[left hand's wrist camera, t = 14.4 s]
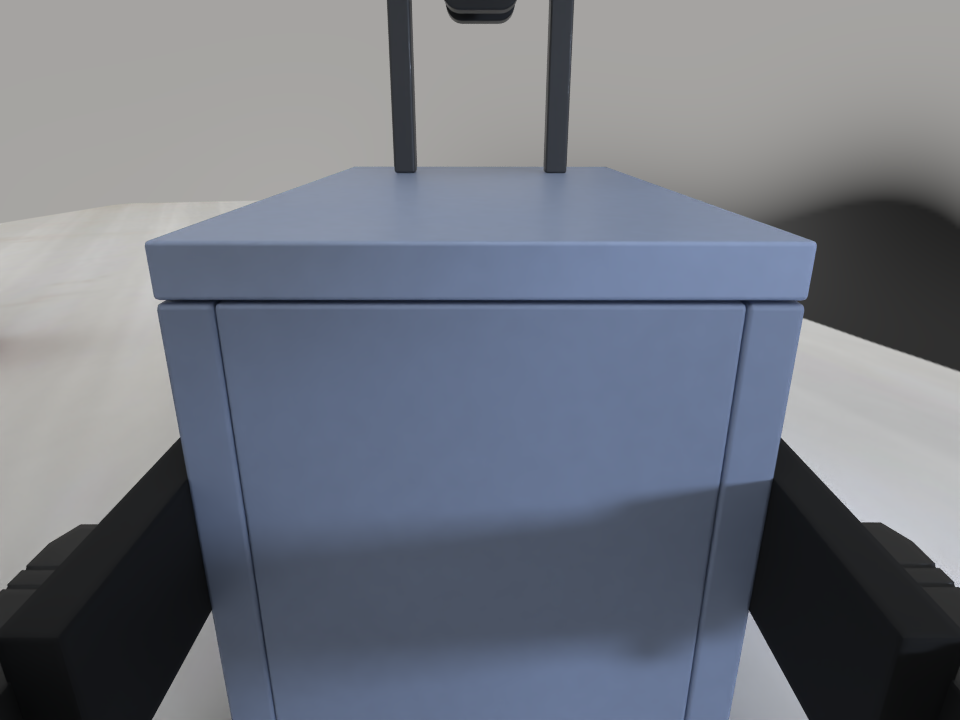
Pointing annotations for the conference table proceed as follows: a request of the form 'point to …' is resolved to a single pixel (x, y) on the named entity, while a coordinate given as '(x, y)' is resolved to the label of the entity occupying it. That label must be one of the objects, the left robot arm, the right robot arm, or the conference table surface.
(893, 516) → the conference table surface
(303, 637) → the chest
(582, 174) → the lid
